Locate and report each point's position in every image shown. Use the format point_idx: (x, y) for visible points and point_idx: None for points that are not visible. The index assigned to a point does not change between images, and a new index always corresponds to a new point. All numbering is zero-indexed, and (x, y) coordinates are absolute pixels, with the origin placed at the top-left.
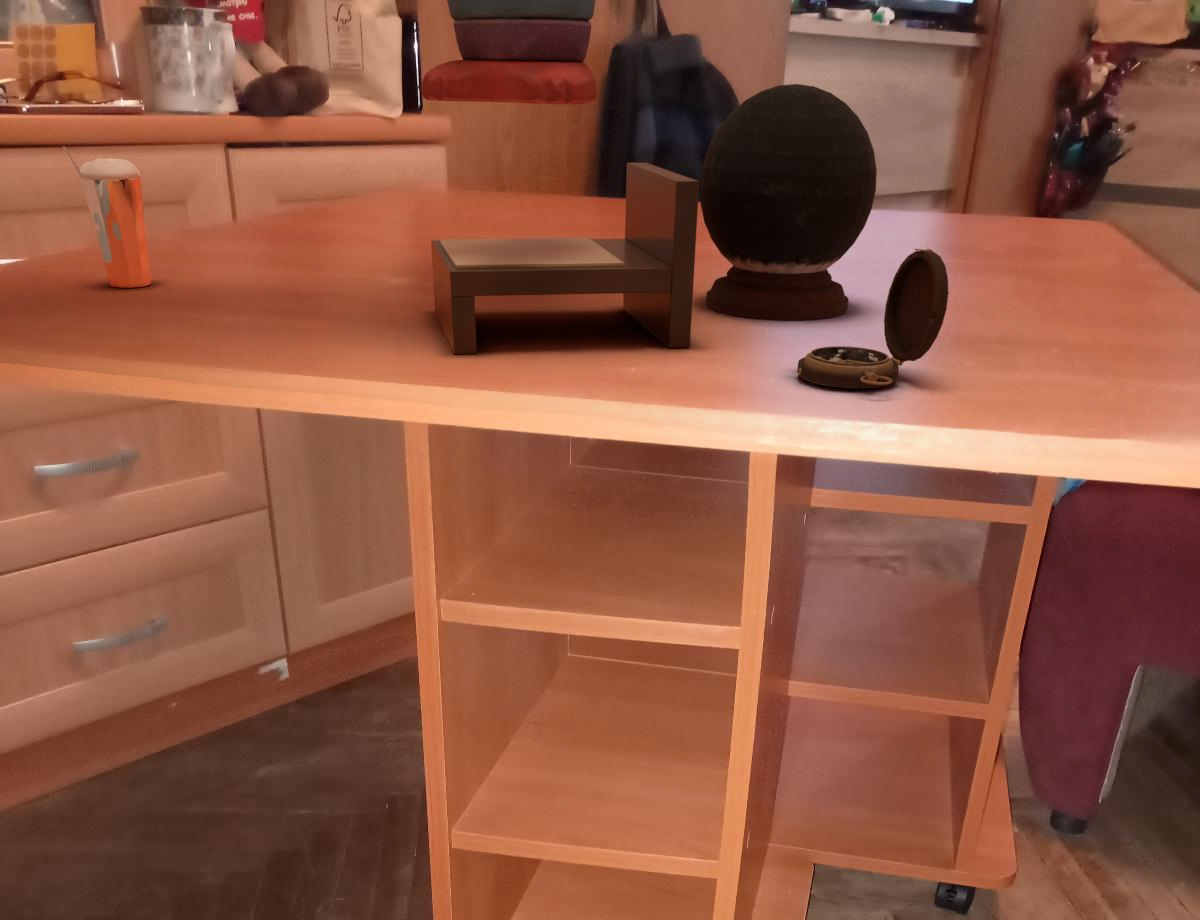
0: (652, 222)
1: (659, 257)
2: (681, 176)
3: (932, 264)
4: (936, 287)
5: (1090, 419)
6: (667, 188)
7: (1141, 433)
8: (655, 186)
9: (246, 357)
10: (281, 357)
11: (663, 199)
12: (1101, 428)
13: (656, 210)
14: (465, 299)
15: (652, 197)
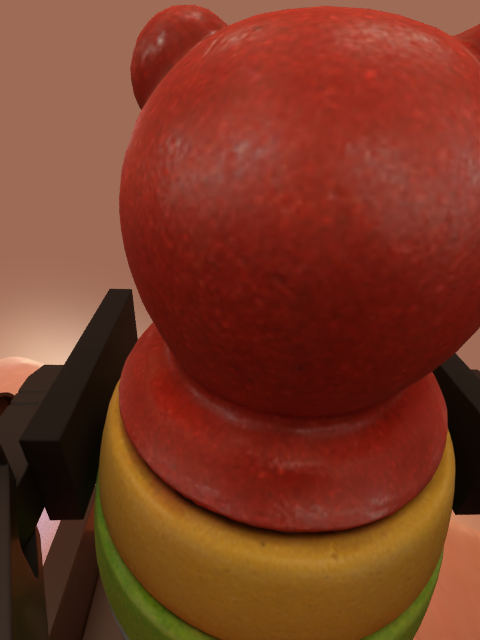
0: (75, 620)
1: (94, 587)
2: (60, 537)
3: (1, 394)
4: (11, 394)
5: (2, 382)
6: (89, 526)
7: (5, 366)
8: (70, 590)
9: (474, 572)
10: (445, 569)
11: (86, 549)
12: (13, 373)
13: (78, 592)
14: None
15: (67, 614)
